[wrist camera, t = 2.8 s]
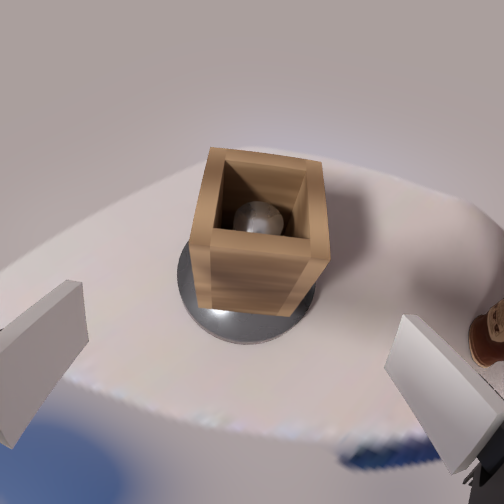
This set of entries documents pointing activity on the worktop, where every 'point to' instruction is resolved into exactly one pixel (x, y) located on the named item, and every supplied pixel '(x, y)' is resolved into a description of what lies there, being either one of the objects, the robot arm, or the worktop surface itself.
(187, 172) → the worktop surface
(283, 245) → the sleeve
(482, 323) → the coffee cup
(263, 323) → the post stand
